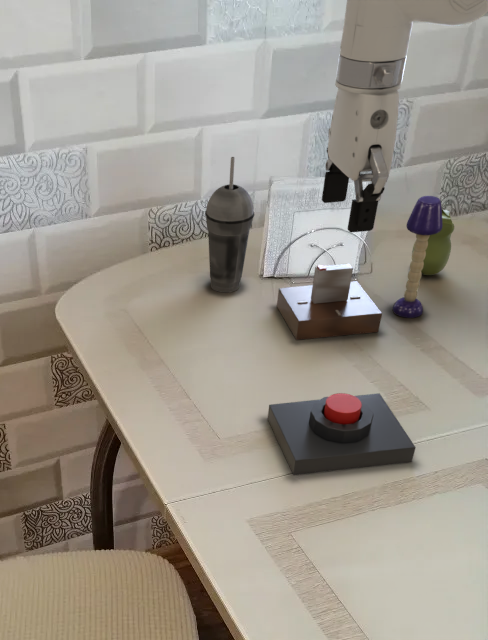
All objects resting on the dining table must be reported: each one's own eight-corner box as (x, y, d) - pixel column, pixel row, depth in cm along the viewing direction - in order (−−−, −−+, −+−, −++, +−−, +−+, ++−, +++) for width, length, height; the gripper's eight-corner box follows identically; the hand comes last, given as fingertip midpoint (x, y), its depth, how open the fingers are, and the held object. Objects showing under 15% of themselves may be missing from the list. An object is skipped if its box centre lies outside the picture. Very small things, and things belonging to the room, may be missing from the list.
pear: (443, 266, 127) (459, 205, 121) (445, 282, 124) (462, 219, 117) (407, 264, 128) (420, 203, 122) (408, 279, 125) (422, 216, 118)
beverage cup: (249, 276, 127) (260, 146, 114) (247, 297, 122) (258, 164, 109) (204, 274, 128) (209, 145, 115) (199, 295, 123) (204, 162, 110)
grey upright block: (344, 295, 115) (350, 261, 112) (347, 300, 114) (353, 266, 110) (310, 299, 115) (315, 264, 111) (313, 304, 114) (318, 269, 110)
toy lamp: (412, 322, 115) (439, 208, 104) (382, 312, 117) (406, 200, 106) (427, 309, 117) (455, 197, 106) (398, 300, 120) (422, 189, 109)
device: (376, 407, 100) (382, 380, 97) (412, 462, 91) (419, 434, 89) (267, 418, 99) (270, 392, 96) (293, 475, 90) (297, 447, 88)
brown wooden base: (353, 299, 121) (357, 279, 118) (378, 332, 113) (382, 312, 111) (276, 306, 120) (278, 287, 118) (296, 340, 112) (298, 320, 110)
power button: (352, 403, 94) (354, 391, 93) (364, 423, 91) (366, 411, 90) (319, 407, 94) (321, 394, 93) (330, 427, 91) (332, 414, 90)
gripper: (432, 89, 87) (400, 240, 98) (372, 52, 100) (350, 189, 111) (366, 94, 86) (341, 245, 98) (314, 56, 99) (298, 193, 110)
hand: (346, 215), depth 104 cm, fingers open, 9 cm apart
